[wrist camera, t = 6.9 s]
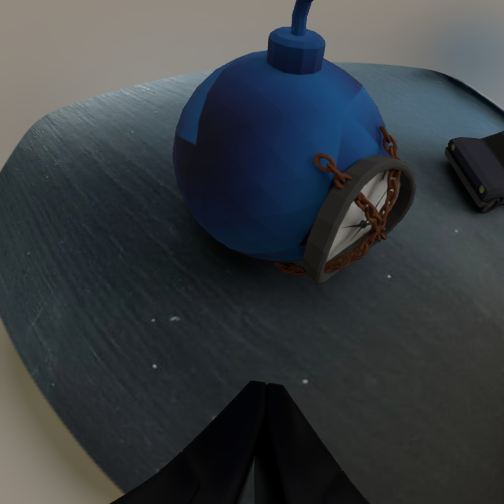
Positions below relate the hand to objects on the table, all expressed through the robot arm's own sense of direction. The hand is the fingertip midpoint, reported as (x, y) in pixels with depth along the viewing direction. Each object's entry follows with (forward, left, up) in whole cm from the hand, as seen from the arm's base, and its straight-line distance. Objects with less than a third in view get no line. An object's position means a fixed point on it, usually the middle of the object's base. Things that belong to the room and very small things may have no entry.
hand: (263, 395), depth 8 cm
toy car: (+19, -20, -7) cm, 28 cm away
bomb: (+10, 0, -7) cm, 12 cm away
